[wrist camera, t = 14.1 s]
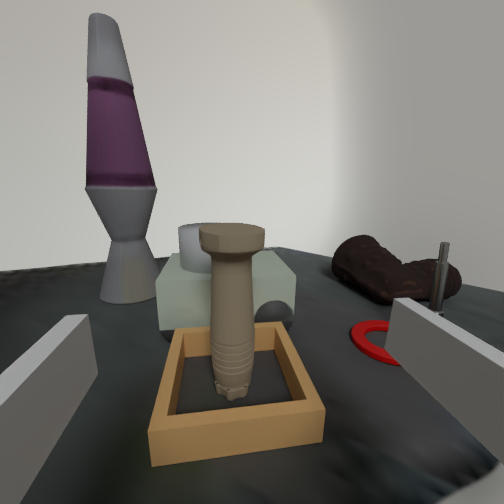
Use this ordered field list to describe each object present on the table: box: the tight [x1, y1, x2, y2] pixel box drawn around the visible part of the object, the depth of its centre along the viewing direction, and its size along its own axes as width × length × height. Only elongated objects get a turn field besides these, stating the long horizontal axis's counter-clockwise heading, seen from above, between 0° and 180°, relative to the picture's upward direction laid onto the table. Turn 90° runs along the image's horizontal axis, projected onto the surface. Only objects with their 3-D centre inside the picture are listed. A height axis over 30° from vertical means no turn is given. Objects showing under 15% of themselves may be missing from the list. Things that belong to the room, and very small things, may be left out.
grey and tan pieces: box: [148, 223, 326, 467], centre depth 28 cm, size 16×26×13 cm, turn 9°
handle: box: [199, 223, 265, 401], centre depth 21 cm, size 5×6×15 cm
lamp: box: [85, 13, 161, 304], centre depth 39 cm, size 11×11×40 cm
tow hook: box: [351, 242, 450, 366], centre depth 29 cm, size 8×13×9 cm
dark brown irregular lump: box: [332, 235, 462, 304], centre depth 45 cm, size 10×15×15 cm
